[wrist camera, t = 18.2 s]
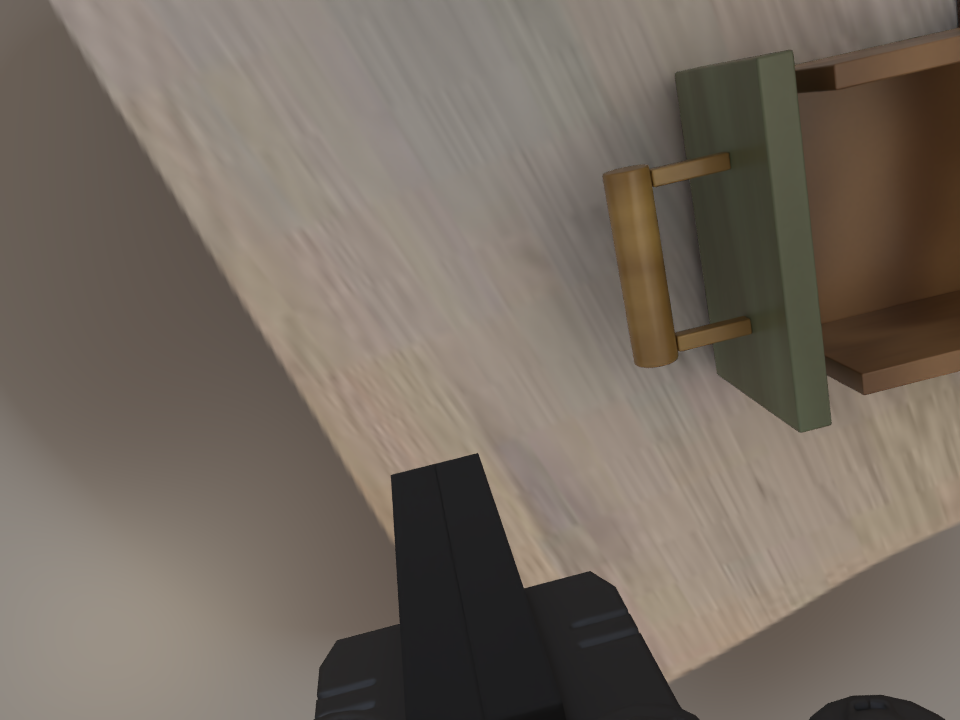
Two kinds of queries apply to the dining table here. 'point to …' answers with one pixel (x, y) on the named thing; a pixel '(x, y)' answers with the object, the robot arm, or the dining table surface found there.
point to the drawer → (809, 223)
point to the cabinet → (959, 5)
